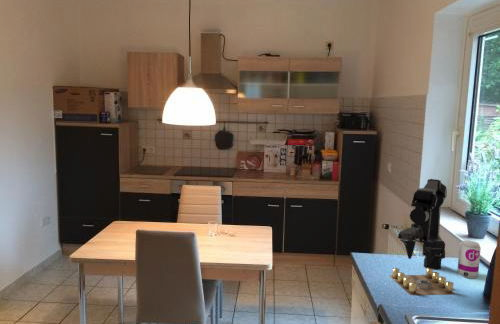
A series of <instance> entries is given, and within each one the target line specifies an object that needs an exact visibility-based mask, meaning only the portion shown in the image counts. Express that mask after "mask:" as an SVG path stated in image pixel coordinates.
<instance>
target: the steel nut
mask: <svg viewBox="0 0 500 324" xmlns="http://www.w3.org/2000/svg"><path fill="white" fill-rule="evenodd" d="M416 283H417V285H416V286H417V287H418V288H420V289H425V290H428V289H431V285H432V283H430V282H429V281H427V280H421V279H420V280H417V281H416Z"/></svg>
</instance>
